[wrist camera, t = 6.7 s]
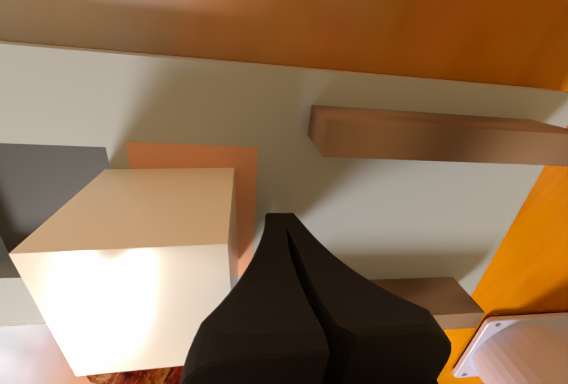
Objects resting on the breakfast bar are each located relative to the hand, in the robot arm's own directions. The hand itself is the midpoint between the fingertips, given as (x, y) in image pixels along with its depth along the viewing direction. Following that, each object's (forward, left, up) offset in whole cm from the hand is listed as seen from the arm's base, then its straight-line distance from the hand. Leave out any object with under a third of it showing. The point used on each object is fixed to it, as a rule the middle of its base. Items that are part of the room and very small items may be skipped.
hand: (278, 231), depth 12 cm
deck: (+1, 0, -3) cm, 3 cm away
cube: (+4, 0, -1) cm, 4 cm away
